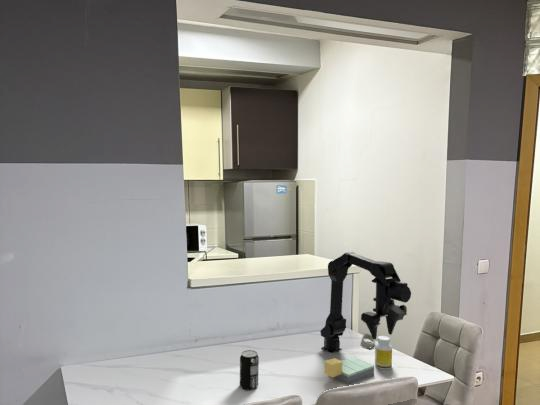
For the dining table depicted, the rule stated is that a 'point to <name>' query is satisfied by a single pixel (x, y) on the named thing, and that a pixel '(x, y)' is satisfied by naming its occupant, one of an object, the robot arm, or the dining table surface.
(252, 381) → the beverage can
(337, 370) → the grooved mint slab
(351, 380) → the tub
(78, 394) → the dining table surface
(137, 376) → the dining table surface
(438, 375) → the dining table surface
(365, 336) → the wristwatch
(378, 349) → the pill bottle
